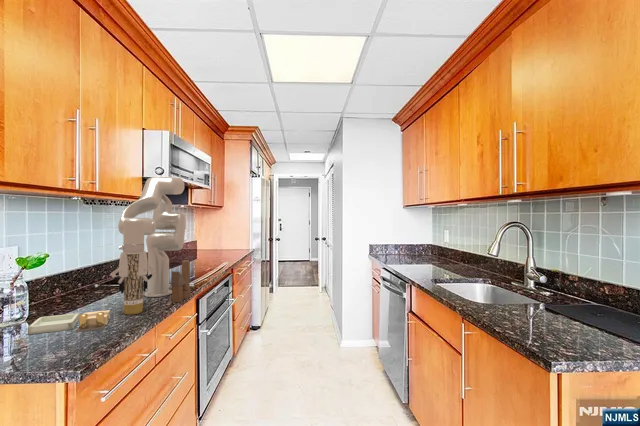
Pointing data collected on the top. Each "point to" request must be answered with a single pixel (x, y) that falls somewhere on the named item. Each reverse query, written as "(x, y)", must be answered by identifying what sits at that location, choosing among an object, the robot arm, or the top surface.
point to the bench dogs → (98, 326)
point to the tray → (53, 323)
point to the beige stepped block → (92, 317)
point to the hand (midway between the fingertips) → (133, 291)
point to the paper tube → (133, 286)
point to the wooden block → (181, 283)
